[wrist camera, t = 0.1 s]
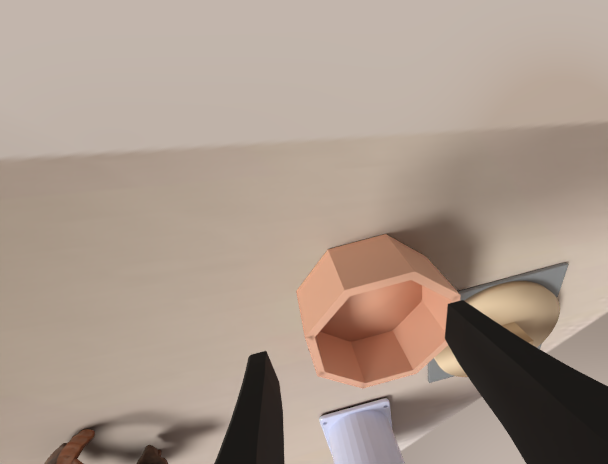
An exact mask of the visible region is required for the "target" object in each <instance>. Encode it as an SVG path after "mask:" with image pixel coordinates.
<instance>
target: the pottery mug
mask: <svg viewBox="0 0 608 464" xmlns="http://www.w3.org/2000/svg"><path fill="white" fill-rule="evenodd" d="M94 435H95V431H93V430H90V429H84V430H82V431H81V432H79V433H78V434H77V435H75V436H73V437H72V439H71V440H70V441H69V443H64V444H62V445H61V446H60V447H59V448H57V449H56V450H55V451H54V452H53V454H52V455H51V456H50V457H49V458H48V459H47V461H46V462H45V464H83V463H82V462H80V461H79V460H78V459H77V458H78V457H79V455H80V453H81V451H82V450H83V448H84V447H85V446H86V445H87V444H88V443H89V441H91V440H92V439H93V438H94ZM160 456H161V450H157V449H156V448H155V447H153V446H151V445H148V446H146V448H145V450H144V452H143V454H142V456H141V457H140V459H139V460H138V462H137V464H168V462H167V461H166V459H165V458H162V457H160Z"/></svg>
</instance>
